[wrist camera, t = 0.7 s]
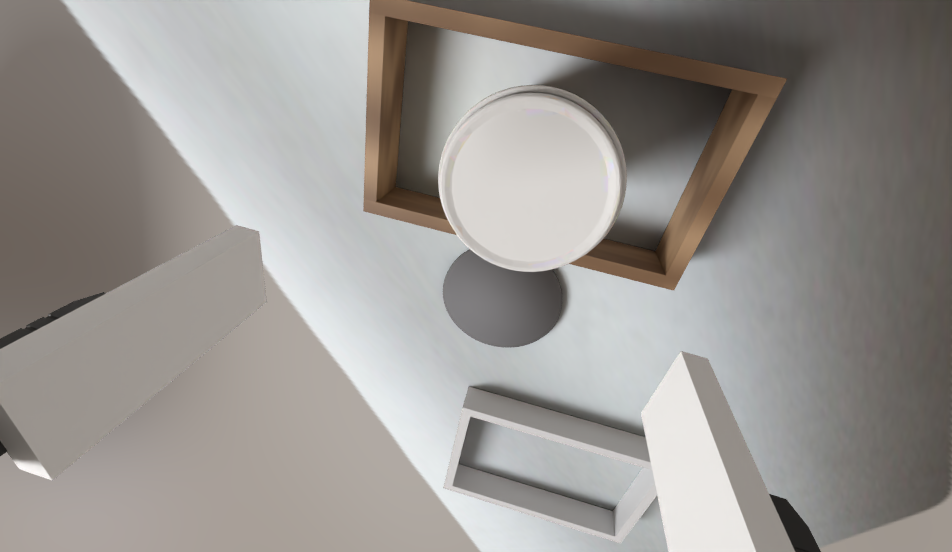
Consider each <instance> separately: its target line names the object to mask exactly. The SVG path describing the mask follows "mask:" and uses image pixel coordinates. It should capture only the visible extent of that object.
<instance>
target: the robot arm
mask: <svg viewBox="0 0 952 552" xmlns="http://www.w3.org/2000/svg"><path fill="white" fill-rule="evenodd" d="M266 302H267V299H266V290H265V281H264V273H263V263H262V254H261V245H260V236H259V231H255V230H252V229H248V228H245V227H241V226H238V225H236V226H234V227H232V228H230V229H228V230H226V231H224V232H223V233H221V234H219V235H217V236H215V237H213V238H211V239H209V240H207V241H205V242H203V243H202V244H199V245H198V246H196V247H194V248H192V249H190V250H188V251H186V252H184V253H182V254H181V255H179V256H177V257H175V258H173V259H171V260H169V261H167V262H165V263H163V264H161V265H159V266H158V267H156V268H154V269H152V270H150V271H148V272H146V273H144V274H142V275H140V276H139V277H137V278H135V279H133V280H131V281H129V282H127V283H125V284H123V285H121V286H119V287H118V288H116V289H114V290H112V291H110V292H108V293H104V292H103V293H100V294H96V295H93V296H90V297H87V298H83V299H80V300H77V301H74V302H72V303H70V304H68V305H66V306H64V307H62V308H60V309H58V310H56V311H54V312H52V313H50V314H48V317H46V318H44V317H42V318H40V319H38V320H36V321H34V322H32V323H30V324H28V325H27V327H26V328H25V329H22V328H20V329H18V330H16V331H15V332H13V333H11V334H9V335H7V336H5V337H3V338H1V339H0V456H1V455H3V454H4V453H6V452H7V453H8V454H9V455H10V457H11V458H12V459H13V461H14V462H15V464H16V465H17V466H18V468H19V469H21V470H24V471H27V472H30V473H32V474H35V475H38V476H41V477H44V478H47V479H50V480H54V479H55V478H56V477H57V476H59V475H60V474H61V473H62V472H63V471H65V470H66V469H67V468H68V467H69V466H71V465H72V464H73V463H74V462H75V461H77V460H78V459H79V458H80V457H81V456H82V455H84V454H85V453H86V452H87V451H89V450H90V449H91V448H92V447H93V446H95V445H96V444H97V443H98V442H99V441H100V440H102V439H103V438H104V437H105V436H107V435H108V434H109V433H110V432H111V431H113V430H114V429H115V428H116V427H117V426H119V425H120V424H121V423H122V422H123V421H124V420H126V419H127V418H128V417H129V416H131V415H132V414H133V413H134V412H135V411H137V410H138V409H139V408H140V407H141V406H143V405H144V404H145V403H146V402H147V401H149V400H150V399H151V398H152V397H153V396H155V395H156V394H157V393H158V392H159V391H161V390H162V389H163V388H164V387H165V386H167V385H168V384H169V383H170V382H171V381H173V380H174V379H175V378H176V377H177V376H178V375H180V374H181V373H182V372H183V371H185V370H186V369H187V368H188V367H189V366H191V365H192V364H193V363H194V362H195V361H197V360H198V359H199V358H200V357H201V356H202V355H204V354H205V353H206V352H207V351H209V350H210V349H211V348H212V347H213V346H215V345H216V344H217V343H218V342H219V341H221V340H222V339H223V338H224V337H225V336H227V335H228V334H229V333H230V332H231V331H233V330H234V329H235V328H236V327H237V326H239V325H240V324H241V323H242V322H243V321H245V320H246V319H247V318H248V317H249V316H251V315H252V314H253V313H254V312H255V311H257V310H258V309H259V308H260V307H261V306H263V305H264V304H265V303H266ZM641 416H642V421H643V426H644V431H645V436H646V441H647V446H648V451H649V456H650V461H651V466H652V471H653V476H654V481H655V486H656V491H657V496H658V501H659V506H660V511H661V516H662V521H663V526H664V531H665V536H666V541H667V546H668V551H669V552H821V551H820V549H819V547H818V545H817V543H816V541H815V539H814V537H813V535H812V533H811V531H810V529H809V527H808V526H807V525H806V523H805V522H804V521H803V520H802V518H801V517H800V516H799V515H798V513H797V512H796V511H795V510H794V508H793V507H792V506H791V505H790V503H789V502H788V501H787V500H786V499H784V498H780V497H777V496H774V495H771V494H769V493H768V491H767V488H766V486H765V484H764V482H763V480H762V477H761V475H760V473H759V471H758V469H757V466H756V464H755V462H754V460H753V458H752V455H751V453H750V451H749V449H748V447H747V444H746V442H745V440H744V438H743V435H742V433H741V431H740V429H739V427H738V424H737V422H736V420H735V418H734V416H733V413H732V411H731V409H730V407H729V405H728V402H727V400H726V398H725V396H724V394H723V391H722V389H721V387H720V385H719V383H718V380H717V378H716V376H715V374H714V371H713V369H712V367H711V365H710V363H709V360H708V359H707V358H703V357H700V356H696V355H693V354H689V353H686V352H682V351H681V352H680V353H679V355H678V356H677V358H676V359H675V361H674V363H673V364H672V366H671V367H670V369H669V370H668V372H667V373H666V375H665V377H664V378H663V380H662V381H661V383H660V384H659V386H658V387H657V389H656V391H655V392H654V394H653V395H652V397H651V398H650V400H649V401H648V403H647V405H646V406H645V408H644V409H643V411H642V412H641Z"/></svg>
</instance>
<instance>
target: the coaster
mask: <svg viewBox="0 0 952 552" xmlns="http://www.w3.org/2000/svg"><path fill="white" fill-rule="evenodd" d="M443 299H444V304H445V307H446V309H447V312H448V313H449V315H450V317H451V319H452V320H453V321H454V323H455V324H456V325H457V326H458V327H459V328H460V329H461V330H462V331H463V332H465V333H466V334H467V335H469V336H470V337H472V338H474V339H475V340H478V341H480V342H482V343H485V344H488V345H492V346H497V347H519V346H524V345H527V344H530V343H533V342H535V341H537V340H539V339H540V338H542V337H543V336H545V335H546V334H547V333H548V332H549V331H550V330H551V329H552V328H553V326H554V325H555V323H556V322H557V320H558V318H559V315H560V312H561V306H562V292H561V287H560V284H559V281H558V278H557V277H556V275H555V273H554V271H553V270H552V269H551V270H546V271H537V272H523V271H515V270H510V269H506V268H503V267H499V266H497V265H495V264H492V263H490V262H488V261H486V260H484V259H483V258H481V257H480V256H478V255H477V254H476V253H474V252H473V251H472V250H470V249H469V250H468V251H466V252H464V253H463V254H462V255H460V256H459V257H458V258H457V259H456V260H455V261H454V263H453V264H452V266H451V267H450V269H449V271H448V272H447V275H446V277H445V280H444V284H443Z"/></svg>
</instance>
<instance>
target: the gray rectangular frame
mask: <svg viewBox="0 0 952 552" xmlns="http://www.w3.org/2000/svg"><path fill="white" fill-rule="evenodd" d="M470 417H474V418H477V419H481V420H484V421H487V422H491V423H494V424H498V425H501V426H504V427H508V428H511V429H515V430H518V431H521V432H525V433H528V434H532V435H535V436H538V437H542V438H545V439H548V440H552V441H555V442H559V443H562V444H565V445H569V446H572V447H576V448H579V449H582V450H586V451H589V452H593V453H596V454H599V455H603V456H606V457H610V458H613V459H616V460H620V461H623V462H627V463H630V464H633V465H637V466H640V467H643V468H642V469H641V470H640V472H639V473H638V475H637V476H636V478H635V479H634V481H633V482H632V484H631V485H630V487H629V488H628V490H627V491H626V493H625V494H624V495H623V497H622V498H621V500H620V501H619V503H618V504H617V506H616V507H615V509H614V510H613V511H610V510H607V509H604V508H601V507H597V506H594V505H591V504H587V503H584V502H581V501H578V500H574V499H571V498H568V497H565V496H561V495H558V494H555V493H552V492H548V491H545V490H542V489H538V488H535V487H532V486H529V485H525V484H522V483H519V482H516V481H512V480H509V479H506V478H503V477H499V476H496V475H493V474H489V473H486V472H483V471H480V470H476V469H473V468H470V467H467V466H463V465H460V464H458V463H459V459H460V455H461V451H462V447H463V443H464V439H465V436H466V432H467V428H468V424H469V420H470ZM443 488H445V489H448V490H451V491H454V492H458V493H461V494H464V495H467V496H470V497H474V498H477V499H480V500H483V501H486V502H490V503H493V504H496V505H499V506H502V507H506V508H509V509H512V510H515V511H518V512H522V513H525V514H528V515H531V516H534V517H538V518H541V519H544V520H547V521H550V522H554V523H557V524H560V525H563V526H566V527H570V528H573V529H576V530H579V531H582V532H586V533H589V534H592V535H595V536H598V537H602V538H605V539H608V540H611V541H614V542H618V543H621V542H622V541H623V540H624V538H625V537H626V536H627V534H628V533H629V532H630V530H631V529H632V528H633V526H634V525H635V524H636V523H637V521H638V520H639V519H640V517H641V516H642V515H643V513H644V512H645V511H646V509H647V508H648V507H649V506H650V504H651V503H652V502H653V500H654V499H655V498H656V496H657V491H656V486H655V481H654V476H653V471H652V466H651V461H650V456H649V451H648V446H647V441H646V437H643V436H639V435H636V434H632V433H629V432H625V431H622V430H618V429H615V428H611V427H608V426H605V425H601V424H598V423H594V422H591V421H587V420H584V419H580V418H577V417H573V416H570V415H566V414H563V413H559V412H556V411H552V410H549V409H546V408H542V407H539V406H535V405H532V404H528V403H525V402H521V401H518V400H514V399H511V398H507V397H504V396H500V395H497V394H493V393H490V392H487V391H483V390H480V389H476V388H473V387H469V388H468V391H467V394H466V398H465V401H464V404H463V408H462V412H461V416H460V420H459V424H458V429H457V433H456V437H455V441H454V445H453V450H452V454H451V458H450V462H449V466H448V470H447V475H446V479H445V483H444V487H443Z"/></svg>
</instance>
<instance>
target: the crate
mask: <svg viewBox="0 0 952 552" xmlns="http://www.w3.org/2000/svg"><path fill="white" fill-rule="evenodd" d="M408 21H411V22H415V23H420V24H425V25H430V26H434V27H439V28H444V29H449V30H453V31H458V32H463V33H468V34H472V35H477V36H482V37H487V38H491V39H496V40H501V41H506V42H510V43H515V44H520V45H525V46H529V47H534V48H539V49H544V50H548V51H553V52H558V53H563V54H567V55H572V56H577V57H582V58H586V59H591V60H596V61H601V62H605V63H610V64H615V65H620V66H624V67H629V68H634V69H638V70H643V71H648V72H653V73H657V74H662V75H667V76H672V77H676V78H681V79H686V80H691V81H695V82H700V83H705V84H710V85H714V86H719V87H724V88H729V89H732V91H731V93H730V95H729V97H728V99H727V102H726V104H725V106H724V108H723V110H722V112H721V114H720V116H719V118H718V120H717V123H716V125H715V127H714V129H713V131H712V133H711V135H710V137H709V139H708V141H707V144H706V146H705V148H704V150H703V152H702V154H701V156H700V158H699V160H698V162H697V165H696V167H695V169H694V171H693V173H692V175H691V177H690V179H689V181H688V184H687V186H686V188H685V190H684V192H683V194H682V196H681V198H680V200H679V202H678V205H677V207H676V209H675V211H674V213H673V215H672V217H671V219H670V221H669V223H668V226H667V228H666V230H665V232H664V234H663V236H662V238H661V240H660V242H659V244H658V247H657V249H656V251H652V250H648V249H644V248H640V247H635V246H631V245H627V244H623V243H619V242H615V241H611V240H607V239H603V240H602V241H601V242H600V243H599V244H598V245H596V246H595V247H594V248H593V249H592V250H591V251H589V252H588V253H587V254H585V255H584V256H582V257H580V258H579V259H577V260H575V261H573V262H571V263H569V264H572V265H576V266H580V267H584V268H588V269H592V270H596V271H600V272H604V273H607V274H611V275H615V276H619V277H623V278H627V279H631V280H635V281H639V282H643V283H647V284H651V285H654V286H658V287H662V288H666V289H670V290H674V289H675V287H676V285H677V284H678V282H679V280H680V278H681V276H682V274H683V272H684V270H685V269H686V267H687V265H688V263H689V261H690V259H691V257H692V256H693V254H694V252H695V250H696V248H697V246H698V244H699V243H700V241H701V239H702V237H703V235H704V233H705V231H706V229H707V228H708V226H709V224H710V222H711V220H712V218H713V216H714V215H715V213H716V211H717V209H718V207H719V205H720V203H721V201H722V200H723V198H724V196H725V194H726V192H727V190H728V188H729V187H730V185H731V183H732V181H733V179H734V177H735V175H736V173H737V172H738V170H739V168H740V166H741V164H742V162H743V160H744V159H745V157H746V155H747V153H748V151H749V149H750V147H751V145H752V144H753V142H754V140H755V138H756V136H757V134H758V132H759V131H760V129H761V127H762V125H763V123H764V121H765V119H766V118H767V116H768V114H769V112H770V110H771V108H772V106H773V104H774V103H775V101H776V99H777V97H778V95H779V93H780V91H781V90H782V88H783V86H784V84H785V82H786V80H787V79H786V78H781V77H776V76H771V75H767V74H762V73H757V72H752V71H747V70H742V69H737V68H733V67H728V66H723V65H718V64H713V63H708V62H704V61H699V60H694V59H689V58H684V57H679V56H674V55H670V54H665V53H660V52H655V51H650V50H645V49H640V48H636V47H631V46H626V45H621V44H616V43H611V42H606V41H602V40H597V39H592V38H587V37H582V36H577V35H572V34H568V33H563V32H558V31H553V30H548V29H543V28H539V27H534V26H529V25H524V24H519V23H514V22H509V21H505V20H500V19H495V18H490V17H485V16H480V15H475V14H471V13H466V12H461V11H456V10H451V9H446V8H441V7H437V6H432V5H427V4H422V3H417V2H412V1H407V0H370V8H369V42H368V76H367V109H366V143H365V177H364V211H365V212H369V213H373V214H377V215H381V216H384V217H388V218H392V219H396V220H400V221H404V222H408V223H412V224H416V225H420V226H424V227H427V228H431V229H435V230H439V231H443V232H447V233H451V234H455V235H457V234H456V233H455V231H454V230H453V228H452V226H451V225H450V223H449V221H448V219H447V217H446V215H445V212H444V210H443V207H442V203H441V199H440V198H438V197H434V196H430V195H426V194H422V193H418V192H414V191H410V190H406V189H402V188H398V187H396V179H397V165H398V151H399V138H400V124H401V111H402V97H403V83H404V70H405V56H406V43H407V29H408Z"/></svg>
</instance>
